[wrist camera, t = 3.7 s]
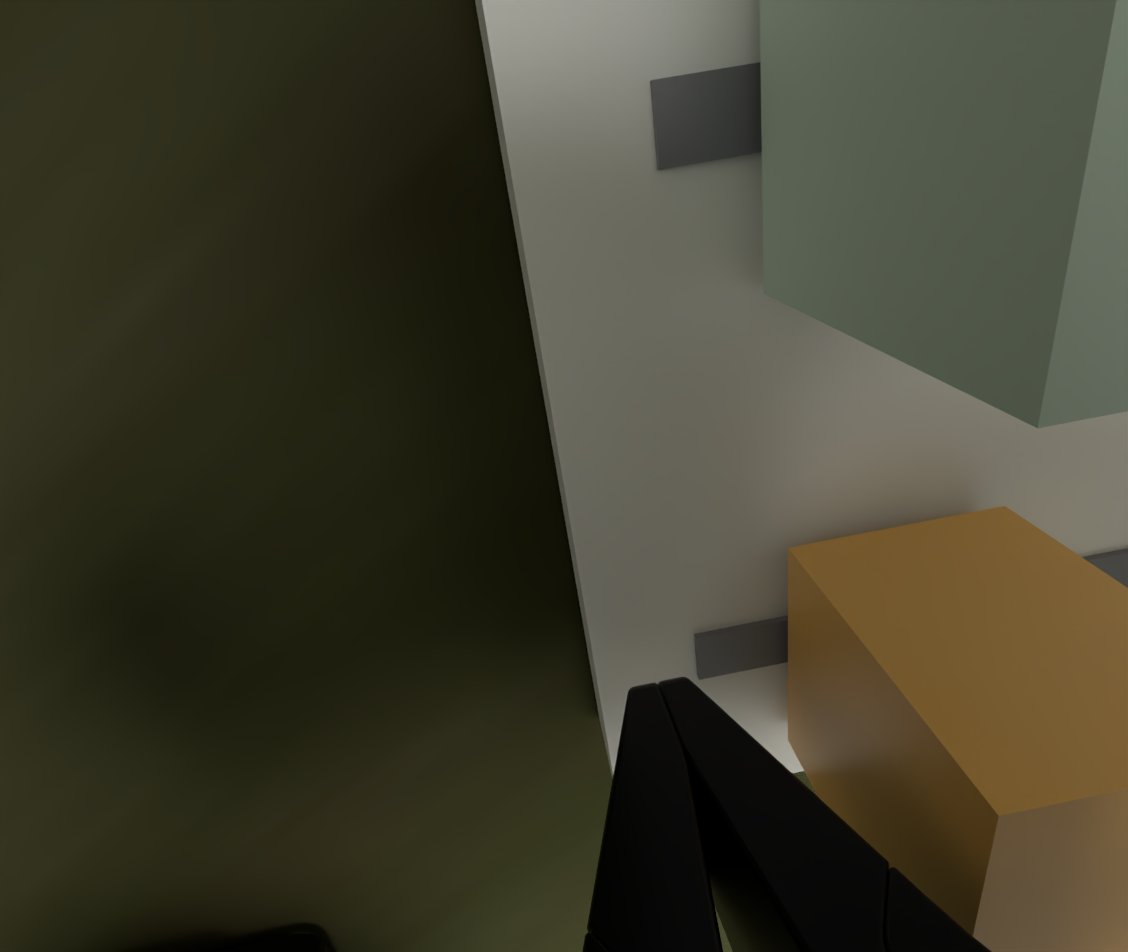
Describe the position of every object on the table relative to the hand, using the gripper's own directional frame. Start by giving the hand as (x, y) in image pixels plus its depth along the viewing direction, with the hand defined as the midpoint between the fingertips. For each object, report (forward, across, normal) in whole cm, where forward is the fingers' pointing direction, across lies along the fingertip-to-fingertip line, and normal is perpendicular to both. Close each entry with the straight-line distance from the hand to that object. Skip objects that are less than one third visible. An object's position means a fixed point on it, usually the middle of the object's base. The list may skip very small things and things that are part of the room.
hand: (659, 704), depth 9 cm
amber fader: (+1, -3, 0) cm, 4 cm away
